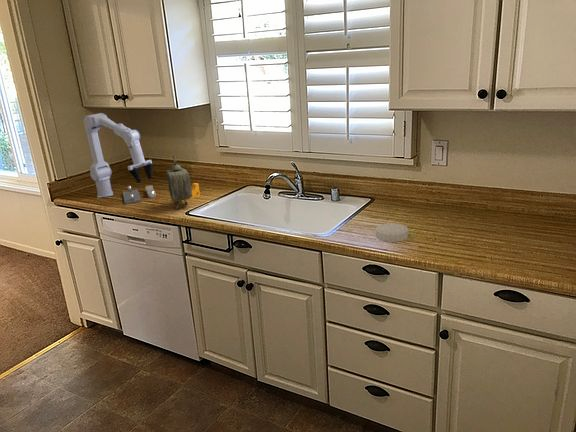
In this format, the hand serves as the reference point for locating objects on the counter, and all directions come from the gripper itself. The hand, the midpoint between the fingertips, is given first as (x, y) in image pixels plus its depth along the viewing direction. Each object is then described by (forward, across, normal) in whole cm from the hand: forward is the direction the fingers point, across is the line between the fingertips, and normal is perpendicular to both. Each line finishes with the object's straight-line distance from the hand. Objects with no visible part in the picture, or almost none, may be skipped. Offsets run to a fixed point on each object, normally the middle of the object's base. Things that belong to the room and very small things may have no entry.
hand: (144, 180), depth 240 cm
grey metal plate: (+8, +2, +15) cm, 17 cm away
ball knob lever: (+9, +9, +9) cm, 16 cm away
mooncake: (+33, -5, -126) cm, 130 cm away
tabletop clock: (+15, -1, -22) cm, 26 cm away
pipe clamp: (+14, +10, -16) cm, 24 cm away
